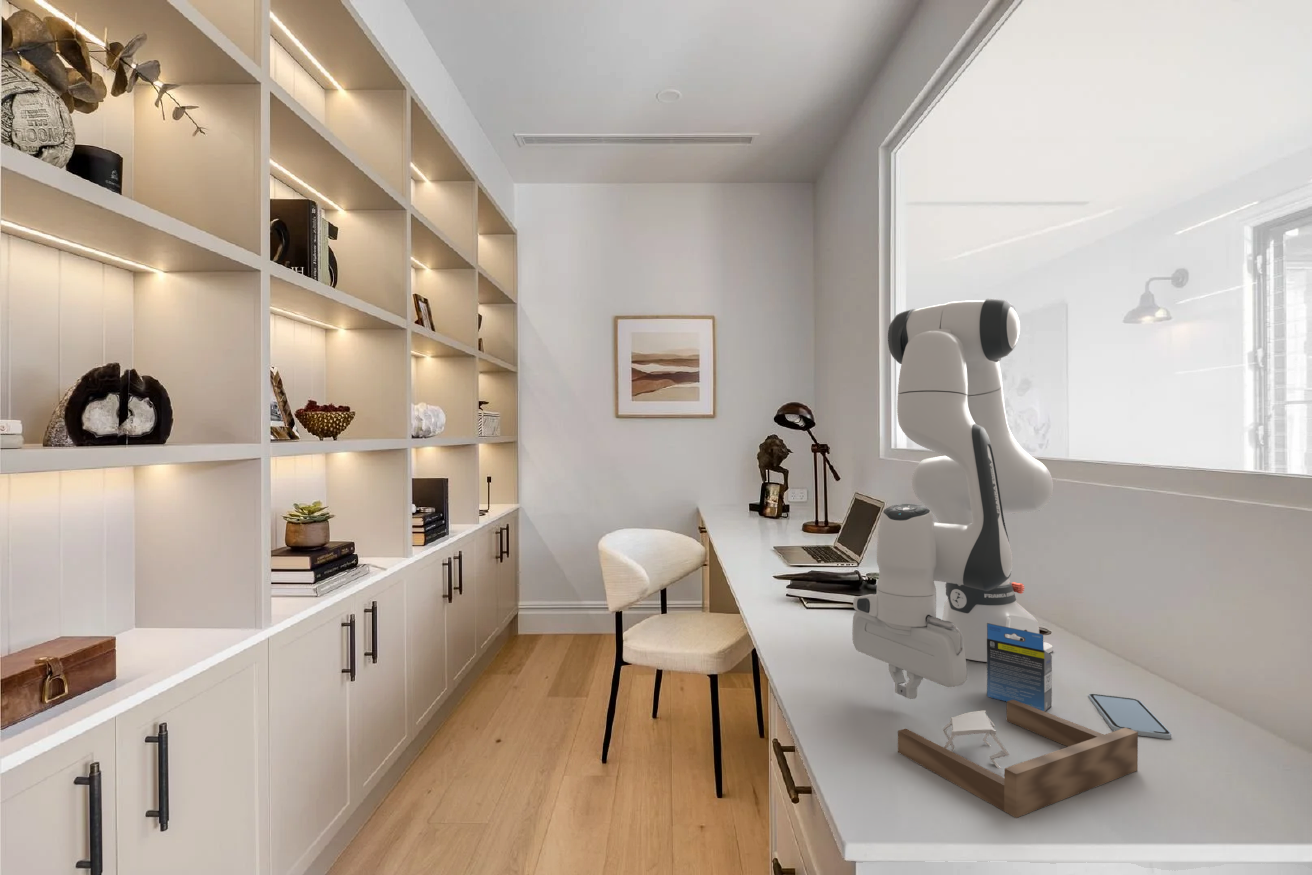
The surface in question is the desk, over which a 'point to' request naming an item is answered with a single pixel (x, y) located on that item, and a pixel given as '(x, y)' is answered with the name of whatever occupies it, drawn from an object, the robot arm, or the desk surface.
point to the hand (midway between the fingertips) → (905, 695)
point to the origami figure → (974, 730)
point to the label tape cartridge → (1018, 667)
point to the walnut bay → (1034, 762)
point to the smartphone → (1129, 715)
